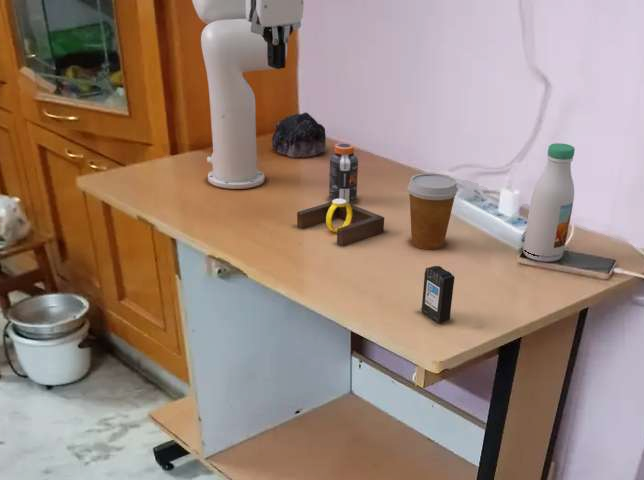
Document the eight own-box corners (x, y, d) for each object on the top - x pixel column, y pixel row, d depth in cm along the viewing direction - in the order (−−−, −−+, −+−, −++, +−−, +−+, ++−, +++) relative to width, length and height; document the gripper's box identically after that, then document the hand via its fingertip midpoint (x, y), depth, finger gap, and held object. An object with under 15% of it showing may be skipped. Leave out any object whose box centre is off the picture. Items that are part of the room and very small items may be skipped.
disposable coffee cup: (457, 238, 167) (464, 176, 159) (445, 256, 159) (451, 192, 152) (411, 231, 169) (415, 169, 161) (397, 248, 162) (401, 184, 154)
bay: (297, 226, 168) (296, 211, 166) (338, 213, 175) (338, 199, 173) (342, 246, 161) (342, 230, 159) (383, 232, 168) (384, 217, 166)
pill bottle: (353, 206, 179) (355, 150, 172) (326, 203, 180) (327, 147, 172) (359, 196, 183) (361, 142, 176) (332, 194, 184) (333, 139, 177)
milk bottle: (538, 265, 158) (558, 154, 145) (514, 250, 163) (531, 142, 151) (571, 259, 161) (593, 150, 148) (546, 244, 166) (565, 138, 153)
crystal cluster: (278, 144, 214) (273, 102, 207) (331, 142, 213) (328, 101, 206) (269, 164, 204) (263, 121, 198) (324, 163, 203) (320, 120, 196)
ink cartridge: (420, 312, 140) (424, 266, 135) (431, 309, 141) (436, 263, 136) (438, 324, 137) (443, 277, 132) (449, 321, 138) (454, 275, 133)
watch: (345, 225, 170) (346, 195, 166) (354, 229, 168) (355, 199, 165) (323, 232, 167) (323, 201, 163) (332, 236, 165) (333, 205, 161)
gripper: (294, -57, 150) (294, 57, 161) (226, -52, 141) (231, 67, 153) (322, -50, 146) (320, 66, 158) (255, -45, 137) (257, 77, 149)
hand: (276, 66), depth 155 cm, fingers closed
